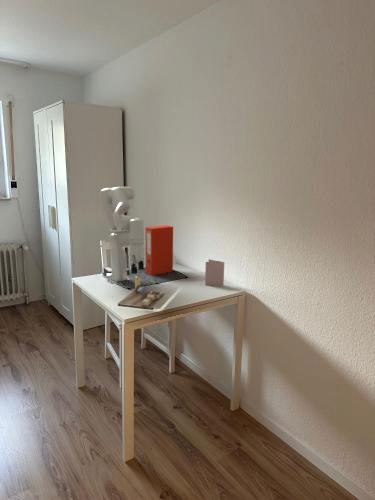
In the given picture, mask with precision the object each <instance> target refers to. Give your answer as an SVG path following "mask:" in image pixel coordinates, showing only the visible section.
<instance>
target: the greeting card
mask: <svg viewBox="0 0 375 500" xmlns="http://www.w3.org/2000/svg"><path fill="white" fill-rule="evenodd" d="M204 270H205V273H204V274H205V275H204V276H205V278H204V286H224V283H225V282H224V280H225V262H224V261H220V260H213V259H208V261H205V269H204Z"/></svg>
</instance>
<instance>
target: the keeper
mask: <svg viewBox="0 0 375 500" xmlns="http://www.w3.org/2000/svg"><path fill="white" fill-rule="evenodd" d="M146 290H147V289H146V285H140V288H139V289H137V292H141V294H145V293H146Z"/></svg>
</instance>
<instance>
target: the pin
mask: <svg viewBox="0 0 375 500" xmlns="http://www.w3.org/2000/svg"><path fill="white" fill-rule="evenodd" d="M140 287H141V277H140V275H137V276H134V290H135V293H140V292H137V289H139V288H140Z"/></svg>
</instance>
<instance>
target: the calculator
mask: <svg viewBox="0 0 375 500" xmlns="http://www.w3.org/2000/svg"><path fill="white" fill-rule="evenodd" d="M130 270H131V269H129V268H127V275H130V273H131V271H130ZM104 273H105V274H107V273H109V274H111V273H112V269H111V266H110V267H109V266H108V267H103V274H104ZM105 274H104V275H105Z"/></svg>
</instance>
